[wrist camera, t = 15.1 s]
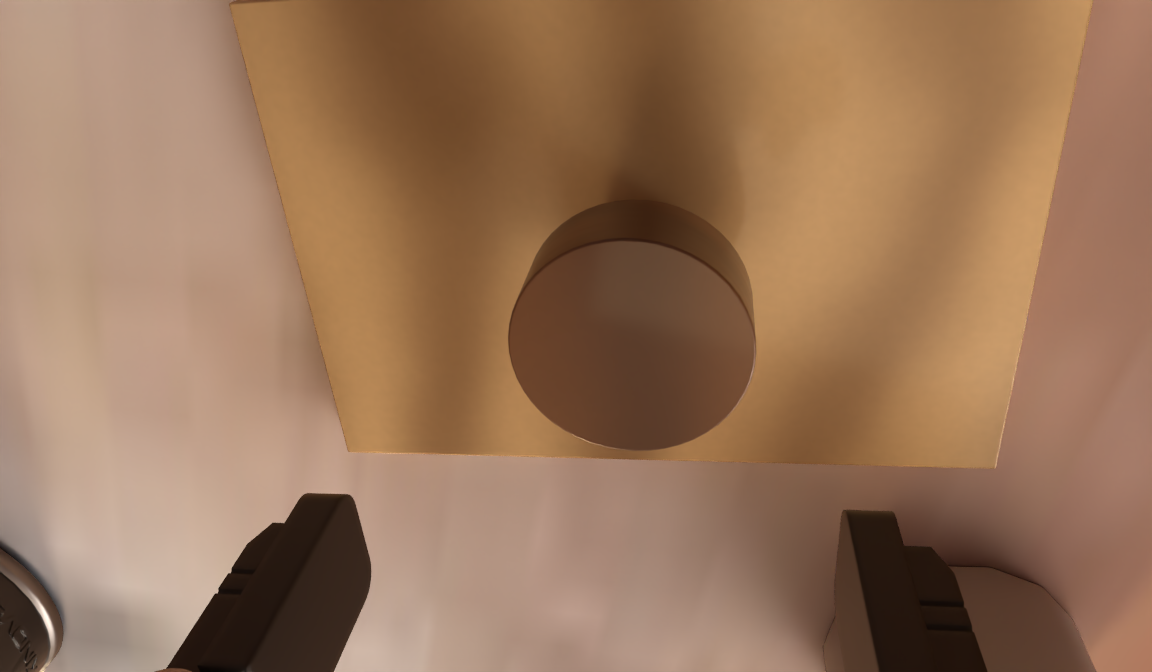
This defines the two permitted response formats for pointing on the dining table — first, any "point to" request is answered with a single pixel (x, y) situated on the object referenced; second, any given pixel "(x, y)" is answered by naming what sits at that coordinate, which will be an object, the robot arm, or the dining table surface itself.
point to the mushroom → (635, 326)
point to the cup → (1007, 626)
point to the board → (674, 201)
